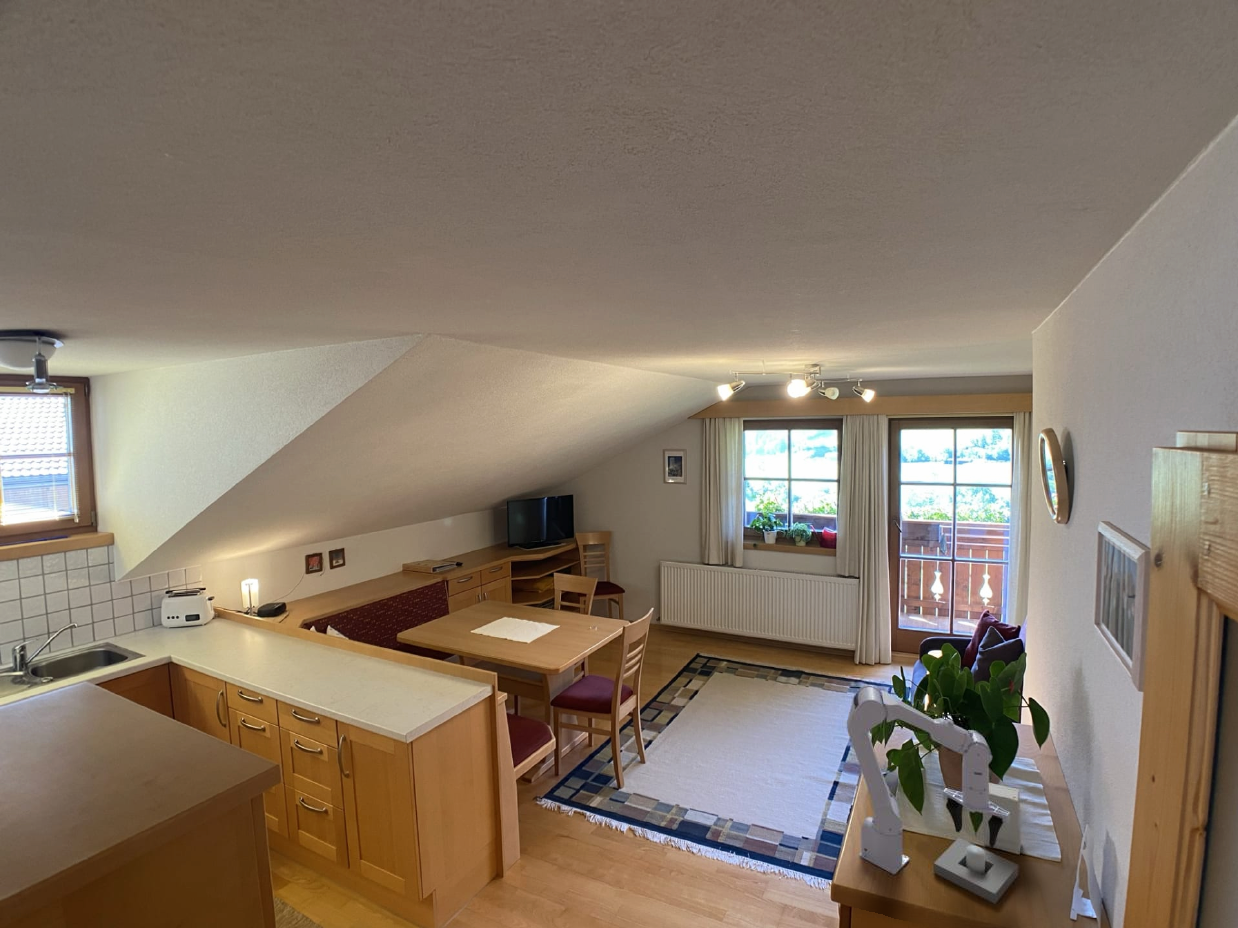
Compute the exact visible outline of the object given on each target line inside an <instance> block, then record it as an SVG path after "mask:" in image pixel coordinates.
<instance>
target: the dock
mask: <svg viewBox="0 0 1238 928" xmlns="http://www.w3.org/2000/svg"><path fill="white" fill-rule="evenodd" d="M970 845H973V846H977V845H975V844H973V843H971V842H969V841H967V840H964V839H962V838H960V837H958V838H956V840H955V841H954V842H953V843H952V844H951V845H950V846H949V847H948V848H947V849H946V850H945V851H944V852H943V853H942V854H941V855H940V856H939V857H938V858H937V859H936V860H935V861H934V863H933V873H934V874H936V875H937V876H940V877H941V878H944V879H946V880H947V881H949V882H951V883H954V884H955V885H957V886H959V887H961V888H963V889H965V890H968V891H969V892H971V893H973V894H974V895H976V896H979V897H980V898H982V899H984V900H985V901H988V902H991V903H992V904H994V905H996V903H998V901H999V900H1000V899H1001V898H1002V896H1003V895H1004V894H1005V892H1006V891H1007V890H1008V889H1009V887H1010V886H1011V885H1012V884H1013V882H1014V881H1015V880H1016V878H1017V877H1018V876H1019V864H1018V863H1015V862H1013V861H1010V860H1008V859H1007V858H1004V857H1002V856H1000V855H997V854H995V853H993V852H991V851H989V850H987V849H985V848H983V847H982V848H981V847H980V848H981V849H983V850H984V852H985V876H982V875H980V874H978V873H976V872H974V871H972V870H970V869H968V868H966V848H967V846H970ZM986 871H987V872H986Z"/></svg>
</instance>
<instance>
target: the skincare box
mask: <svg viewBox="0 0 1238 928" xmlns="http://www.w3.org/2000/svg"><path fill="white" fill-rule="evenodd" d="M1020 799H1021V798H1020V789H1018V788H1015V787H1014V788H1013V787H1009V786H1005V785H1001V784H996V783H992V782H989V801H990V802H991V803H993V804H995V805H997V806H998V807H1000V808H1002V809H1004V810H1006V811H1008V812H1010V820H1009V822H1008V823H1003V824H1002V826H1001V828H1000V830H999V832H998V835H997V839H996V844H995V845H994V846H993V847H992V848H995V849H999V850H1002V851H1006V852H1009V853H1012V854H1016V855H1020V853H1021V845H1022V825H1021V803H1020V801H1021V800H1020ZM991 817H992V816H991V815H988V814H985V813H982V818H983V820H982V821H983V839H984V840H983V842H984V843H983V844H984V845H985V846H988V847H991V846H990V844H989V839H990V831H989V825H988V821H989V819H990V818H991Z"/></svg>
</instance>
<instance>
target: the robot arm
mask: <svg viewBox="0 0 1238 928" xmlns="http://www.w3.org/2000/svg"><path fill="white" fill-rule="evenodd" d="M852 697H853V698H852V703H851V707H850V709H849V710H850V711H849V714H848V717H847V720H846V729H847V733H848V735H849V739H850V742H851V744H852V747H853V750H854V753H855V755H856V758H857V760H858V763H859V767H860V770H861V772H862V775H863V778H864V781H865V783H866V787H867V789H868V793H869V795H870V800H871V805H872V807H873V815H874V816H873V817H872V816H867V817H866V818H865V819H864V821H863V822H862V825H861V828H860V843H861V844H860V846H861V847H860V853H859V857H861V858H862V859H865V860H867V861H868V862H870V863H872V864H874V865H875V866H878V867H879V868H881V869H883V870H885V871H887V872H888V873H891V874H892V875H895V874H897V873H898V872H899V871H900V870H901V869H902V868H903V867H904V866H905V865H906V864H907V863H908V862H910V857H908V856H907V855H904V853H903V822H902V820H901V815H900V810H899V802H898V800H897V799H898V798H897V797H895V796H894V794H893V793H892V792H891V791H890V790H891V789H890V788H889V786H888V785H887V782H886V779H885V777H884V774H883V771H882V768H881V765H880V762H879V760H878V756H877V754H876V751H875V748H874V746H873V742H872V739H871V736H870V734H869V732H870V731H871V730H872V729H873V728H875V727H877V726H878V725H879V724H881V723H883V721H884V720H885V721H886V723H890V722H892V721H895V720H900V721H903V722H905V723H907V724H909V725H912V726H914V727H916V728H918V729H920V730H923V731H925V732H927V733H928V734H929V735H930V738H931V739H932V741H935V742H936V743H939V744H940V745H943V746H944V747H946V748H948V749H949V750H951V751H954V752H956V753H958V754H961V755H962V765H961V769H962V770H961V773H962V774H961V777H962V779H961V781H962V783H961V790H962V791H957V790H954V789H950V788H946V787H945V788H944V790H942V799H943V800H946V804H945V808H946V810H948V812H949V814H950V816H951V818H952V821H953V824H954V828H955V832H956V833H960V832H961V831H962V829H963V806H964V807H965V810H966V811H968V812H970V813H982V814H983V813H985V814H988V815H991V816H992V817H991V818H990V819H989V821H988V825H989V831H990V839H989V844H990V846H989V847H992V848H994V847H993V846H994V845H995V844H996V839H997V835H998V832H999V830H1000V828H1001V826H1002V824H1003V823H1008V822H1009V820H1010V812H1008V811H1006V810H1004V809H1002V808H1000V807H998V806H997V805H995V804H993V803H991V802H990V801H989V783H990V768H989V764H990V763H991V762H992V760H993V755H992V752H991V749H990V747H989V744H988V742H987V741H986V739H985V737H984V736H983V735H982V734H981V733H979V732H978V731H977V730H972V729H971V730H970V729H968V730H967V729H964V728H963V727H960V726H958V725H956V724H955V722H954V721H953V720H952V719H950V718H947V719H944V718H942V717H939V718H934V719H933V718H932V717H930V716H928V715H926V714H925V713H923V712H922V711H919V710H918V709H916V708H915V707H912V706H911V705H908V704H907V703H906V702H904V701H901V700H900V699H898V698H896V697H895V696H893V695H892V694H890V693H889V692H888V691H885V690H883V689H882V690H880V689H879V688H878V687H876V686H873V685H863V686H861V687H860V688H859V689H858V691H856V693H855V694H854V695H853V696H852Z"/></svg>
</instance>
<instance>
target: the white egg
mask: <svg viewBox="0 0 1238 928" xmlns="http://www.w3.org/2000/svg"><path fill="white" fill-rule="evenodd" d="M973 845H974V844H973ZM973 845H970V846H967V848H966V865H965V867H966V868H968V869H970V870H972V871H974V872H976V873H978V874H980V875H982V876H985V874H986V870H985V852H984V850H985V849H984V848H982V849H981V847H980V846H977V845H976V846H973ZM983 849H984V850H983Z"/></svg>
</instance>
